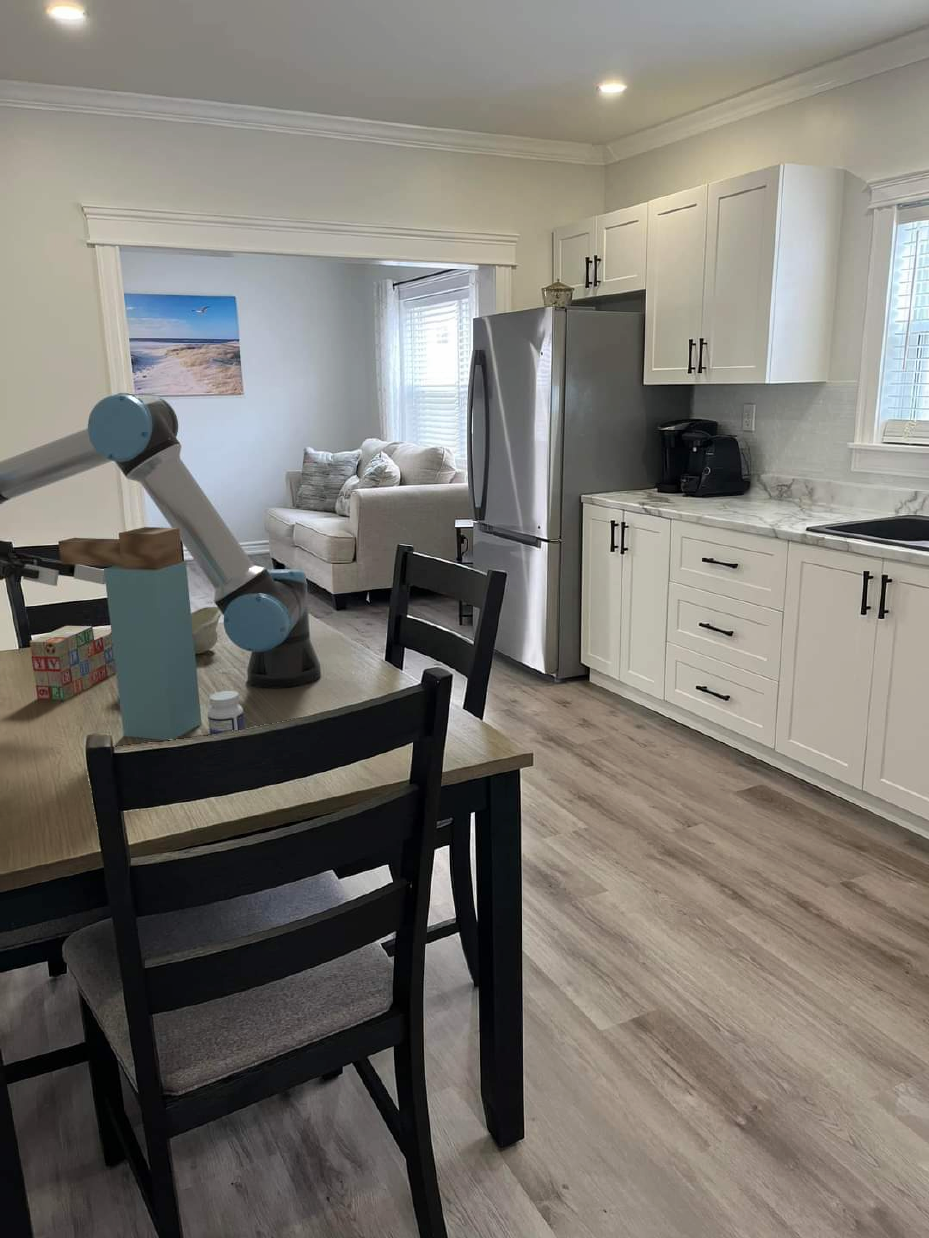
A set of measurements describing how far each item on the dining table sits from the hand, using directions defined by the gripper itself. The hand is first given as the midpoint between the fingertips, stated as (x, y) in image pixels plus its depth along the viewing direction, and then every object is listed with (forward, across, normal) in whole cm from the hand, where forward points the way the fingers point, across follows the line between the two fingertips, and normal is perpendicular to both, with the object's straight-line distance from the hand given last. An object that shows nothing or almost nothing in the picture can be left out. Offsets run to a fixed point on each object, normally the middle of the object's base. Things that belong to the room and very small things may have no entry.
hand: (81, 577), depth 171 cm
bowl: (-1, -46, -19) cm, 49 cm away
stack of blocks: (-11, -20, -25) cm, 34 cm away
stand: (+22, +1, -24) cm, 32 cm away
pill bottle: (+39, +8, -23) cm, 45 cm away
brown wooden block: (+12, +6, +5) cm, 14 cm away
